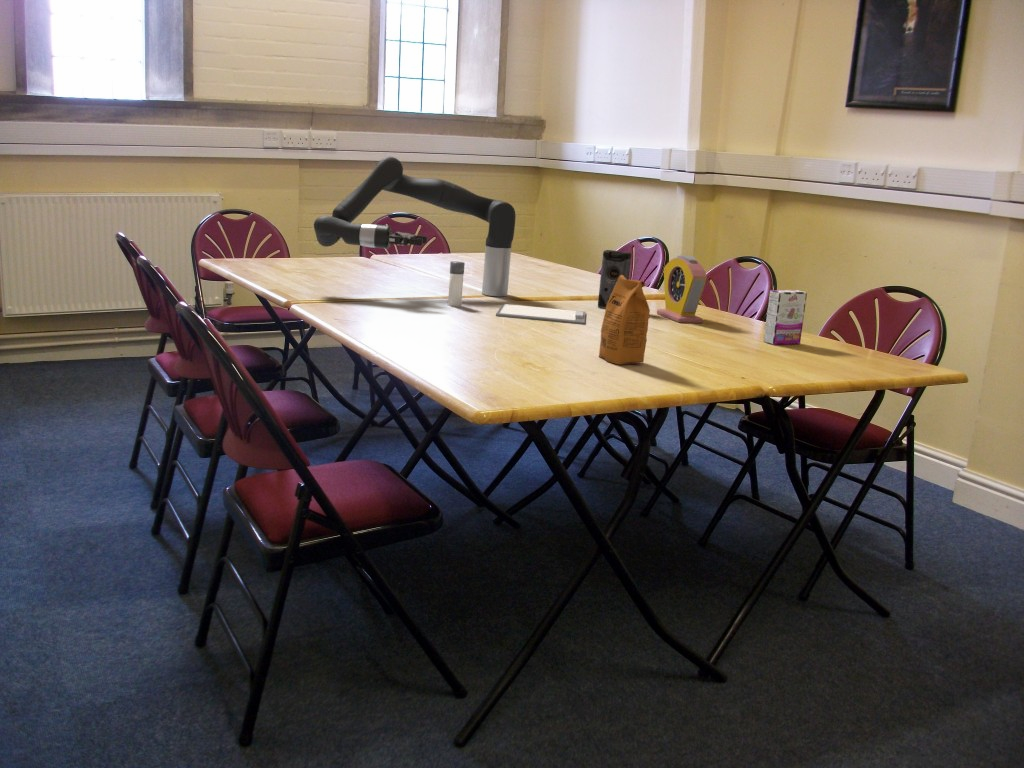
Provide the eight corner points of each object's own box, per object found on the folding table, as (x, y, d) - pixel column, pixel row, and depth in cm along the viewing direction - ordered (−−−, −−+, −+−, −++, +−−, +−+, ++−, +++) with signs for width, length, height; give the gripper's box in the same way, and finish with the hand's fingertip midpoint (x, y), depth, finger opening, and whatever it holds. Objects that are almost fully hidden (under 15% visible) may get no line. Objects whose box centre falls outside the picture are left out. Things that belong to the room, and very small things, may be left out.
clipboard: (502, 305, 330) (502, 300, 329) (585, 313, 328) (585, 308, 328) (495, 315, 308) (496, 310, 308) (584, 324, 307) (585, 319, 306)
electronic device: (596, 307, 342) (602, 250, 337) (601, 305, 347) (607, 249, 343) (621, 311, 339) (628, 253, 334) (626, 309, 344) (632, 252, 339)
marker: (448, 303, 324) (451, 260, 321) (462, 305, 324) (465, 262, 321) (446, 305, 320) (449, 262, 317) (460, 307, 320) (463, 263, 316)
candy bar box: (789, 341, 308) (796, 289, 304) (800, 344, 303) (808, 292, 299) (761, 341, 302) (769, 289, 299) (772, 345, 298) (780, 291, 294)
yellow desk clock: (652, 312, 342) (659, 250, 337) (676, 313, 345) (683, 252, 340) (682, 324, 322) (690, 259, 317) (707, 325, 325) (715, 260, 320)
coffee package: (626, 355, 264) (635, 274, 259) (648, 366, 253) (658, 281, 248) (592, 355, 260) (601, 273, 255) (613, 366, 249) (623, 280, 244)
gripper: (371, 226, 311) (421, 231, 310) (380, 223, 325) (429, 227, 324) (370, 249, 313) (420, 254, 312) (379, 245, 327) (427, 250, 326)
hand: (424, 241), depth 318 cm, fingers open, 8 cm apart
